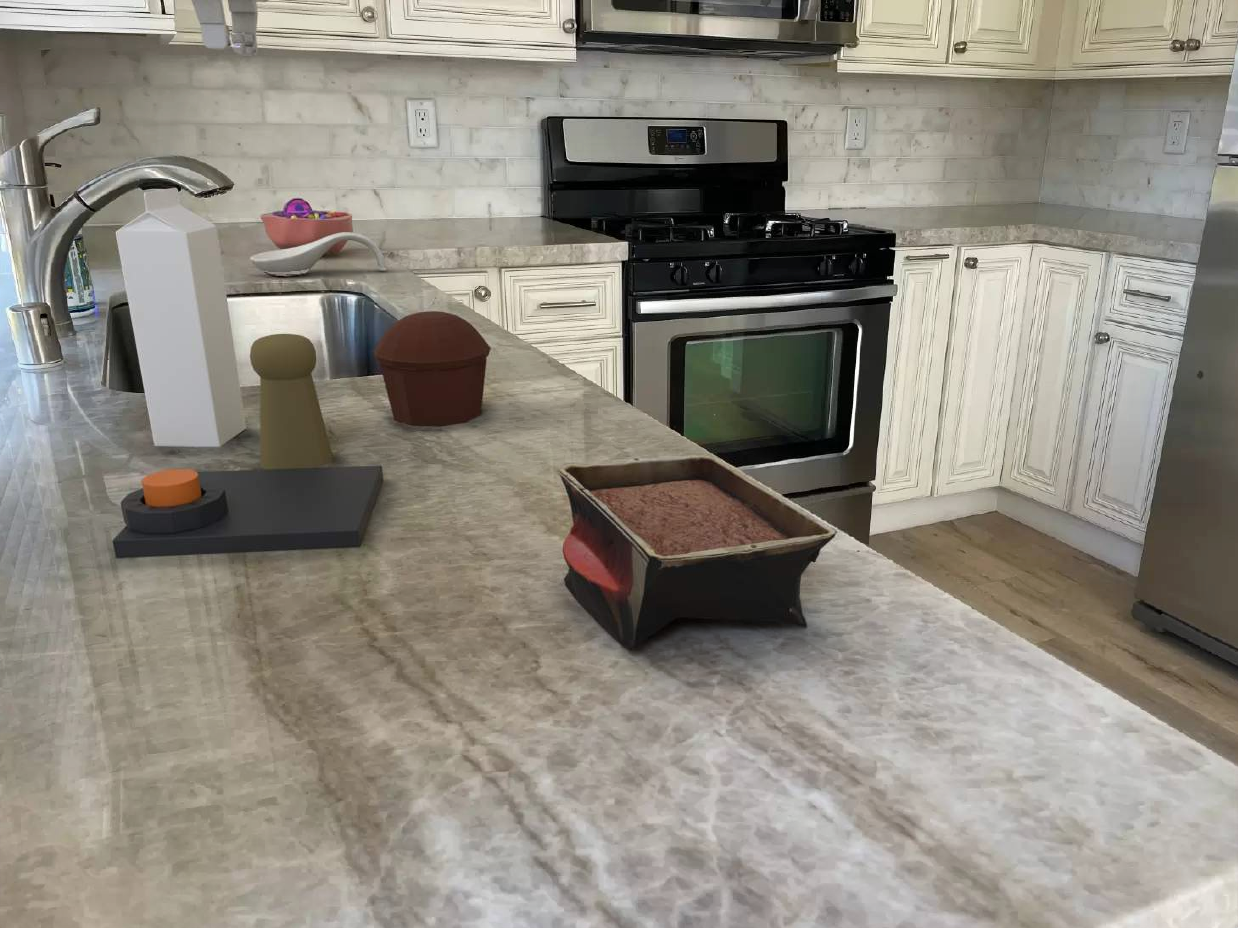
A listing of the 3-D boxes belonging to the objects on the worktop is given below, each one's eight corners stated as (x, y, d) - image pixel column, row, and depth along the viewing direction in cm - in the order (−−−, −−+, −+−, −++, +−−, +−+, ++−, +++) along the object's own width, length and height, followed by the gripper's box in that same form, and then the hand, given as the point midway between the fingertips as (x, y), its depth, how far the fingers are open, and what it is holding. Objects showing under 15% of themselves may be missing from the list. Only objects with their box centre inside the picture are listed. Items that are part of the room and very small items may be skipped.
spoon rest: (252, 280, 180) (246, 239, 177) (252, 271, 190) (246, 232, 187) (389, 275, 188) (385, 235, 185) (382, 266, 198) (379, 228, 195)
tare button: (138, 510, 70) (133, 486, 69) (155, 492, 73) (151, 469, 72) (193, 508, 70) (189, 484, 70) (208, 490, 74) (204, 467, 73)
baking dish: (739, 566, 74) (725, 431, 71) (866, 644, 57) (853, 473, 55) (547, 609, 69) (525, 467, 67) (624, 708, 53) (599, 524, 50)
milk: (154, 447, 91) (104, 192, 83) (185, 428, 97) (141, 186, 89) (221, 448, 91) (178, 192, 83) (248, 428, 97) (210, 187, 89)
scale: (111, 559, 69) (103, 518, 67) (175, 488, 81) (169, 453, 80) (359, 548, 71) (355, 508, 70) (383, 481, 84) (380, 446, 83)
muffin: (478, 432, 97) (472, 327, 93) (364, 429, 97) (353, 325, 94) (503, 399, 108) (498, 305, 104) (400, 397, 108) (392, 303, 105)
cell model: (299, 264, 200) (292, 204, 196) (250, 254, 212) (242, 197, 208) (374, 256, 211) (369, 199, 207) (324, 247, 224) (318, 194, 220)
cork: (247, 461, 88) (228, 335, 84) (311, 446, 92) (297, 325, 88) (280, 477, 84) (263, 346, 80) (346, 461, 88) (332, 336, 84)
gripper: (202, -114, 89) (225, 57, 94) (120, -174, 71) (154, 43, 76) (276, -111, 90) (295, 59, 95) (215, -169, 72) (243, 46, 77)
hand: (232, 52), depth 85 cm, fingers open, 8 cm apart
